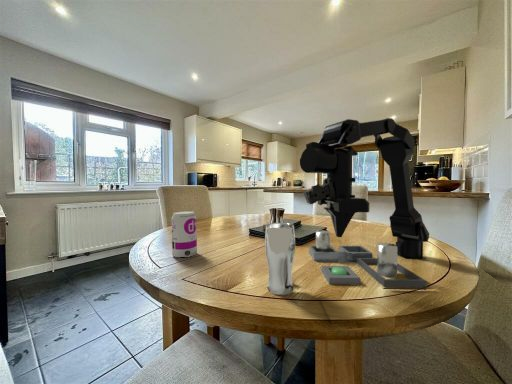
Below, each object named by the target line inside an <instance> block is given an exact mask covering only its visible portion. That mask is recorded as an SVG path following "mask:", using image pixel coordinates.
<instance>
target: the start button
mask: <svg viewBox="0 0 512 384" xmlns="http://www.w3.org/2000/svg"><path fill="white" fill-rule="evenodd" d="M332 274H333V275H347V270H346V269H344V268H340V267H334V268H332Z"/></svg>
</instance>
